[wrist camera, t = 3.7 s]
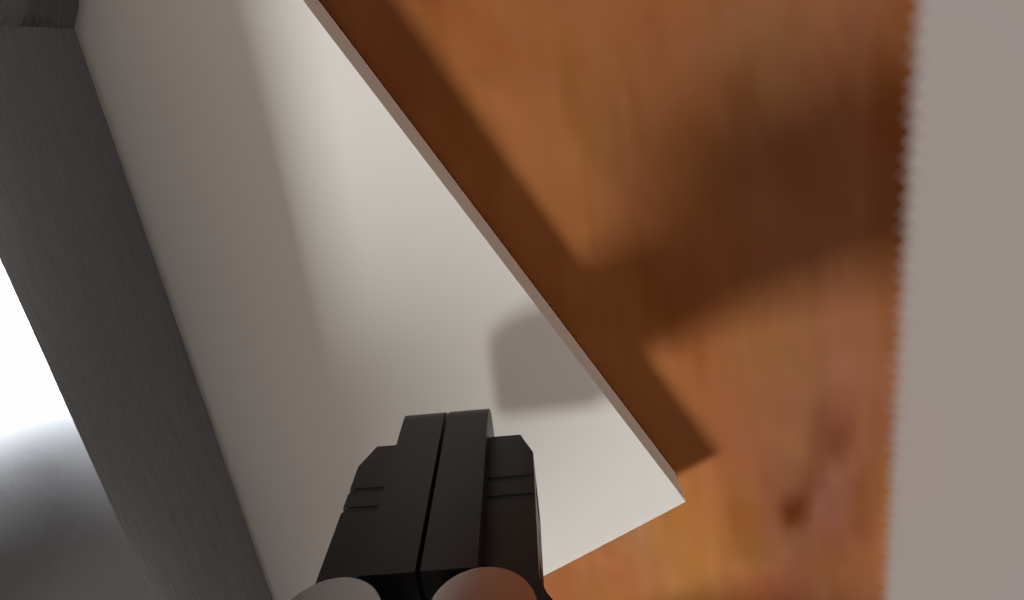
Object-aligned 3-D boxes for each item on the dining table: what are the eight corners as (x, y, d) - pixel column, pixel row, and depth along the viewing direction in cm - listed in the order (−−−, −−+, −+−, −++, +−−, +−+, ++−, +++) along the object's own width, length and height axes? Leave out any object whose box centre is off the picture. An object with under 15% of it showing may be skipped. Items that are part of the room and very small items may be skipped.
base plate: (674, 472, 14) (685, 501, 13) (135, 762, 19) (115, 799, 18) (-151, -621, 8) (-242, -712, 7) (-688, 225, 12) (-787, 239, 11)
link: (-302, -222, 8) (-872, -408, 5) (7, -263, 8) (-363, -486, 5) (152, 696, 16) (51, 878, 12) (319, 685, 15) (264, 867, 12)
